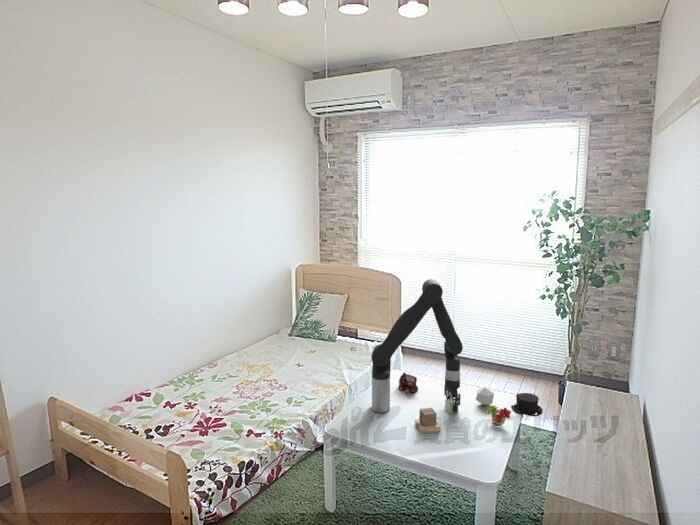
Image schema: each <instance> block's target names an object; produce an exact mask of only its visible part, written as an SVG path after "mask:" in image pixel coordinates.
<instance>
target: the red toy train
mask: <svg viewBox="0 0 700 525" xmlns="http://www.w3.org/2000/svg"><path fill="white" fill-rule="evenodd" d="M417 381H418V378H417V376H414V375H411V374H409V373H406V372H403V373H402V374H401V375H400V377H399V379H398V387H397V388H398V390H399V391H401V392H404V393H406V394H407V395H411V394H412V393H416V392H418V391H419V387H418V385H417Z"/></svg>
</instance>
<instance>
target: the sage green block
mask: <svg viewBox="0 0 700 525" xmlns="http://www.w3.org/2000/svg"><path fill="white" fill-rule="evenodd" d="M444 401H445V403H444V410H446V412H448V413H449V414H452V413H451V412H453V402H452V400H451V399H446V398H445V399H444ZM454 402H455V400H454ZM453 413H454V412H453ZM456 413H459V409H458V410H457V412H456Z"/></svg>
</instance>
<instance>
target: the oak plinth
mask: <svg viewBox="0 0 700 525" xmlns="http://www.w3.org/2000/svg"><path fill="white" fill-rule="evenodd" d="M414 424H415V427H416V428H417V429H418V431H419V432H420V433H421V434H422V435H425V434H433V433H440V432H441V430H442V428H441V425H440V424H439V423H438V422H437V421H436V426H427V427H424V426H423V425H422V424H421V422H420V421H419V418H418V419H415V423H414Z"/></svg>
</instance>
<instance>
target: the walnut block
mask: <svg viewBox="0 0 700 525" xmlns="http://www.w3.org/2000/svg"><path fill="white" fill-rule="evenodd" d="M437 414H438V413H437V412H436V411H435V410H434V409H433V407H426V408H424V407H423V408H419V418H418V419H419V421H420V422H421V424H422V425H423V426H424V427H427V426H436V422H437Z"/></svg>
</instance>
